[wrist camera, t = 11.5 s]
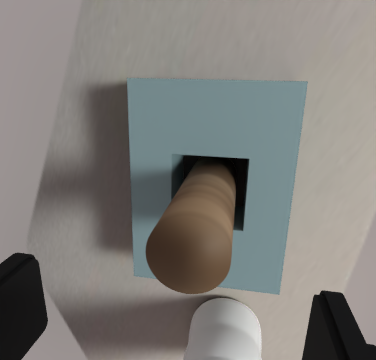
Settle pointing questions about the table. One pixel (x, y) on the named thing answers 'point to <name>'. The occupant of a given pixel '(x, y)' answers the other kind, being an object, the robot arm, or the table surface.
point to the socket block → (218, 147)
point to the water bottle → (224, 332)
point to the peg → (196, 229)
